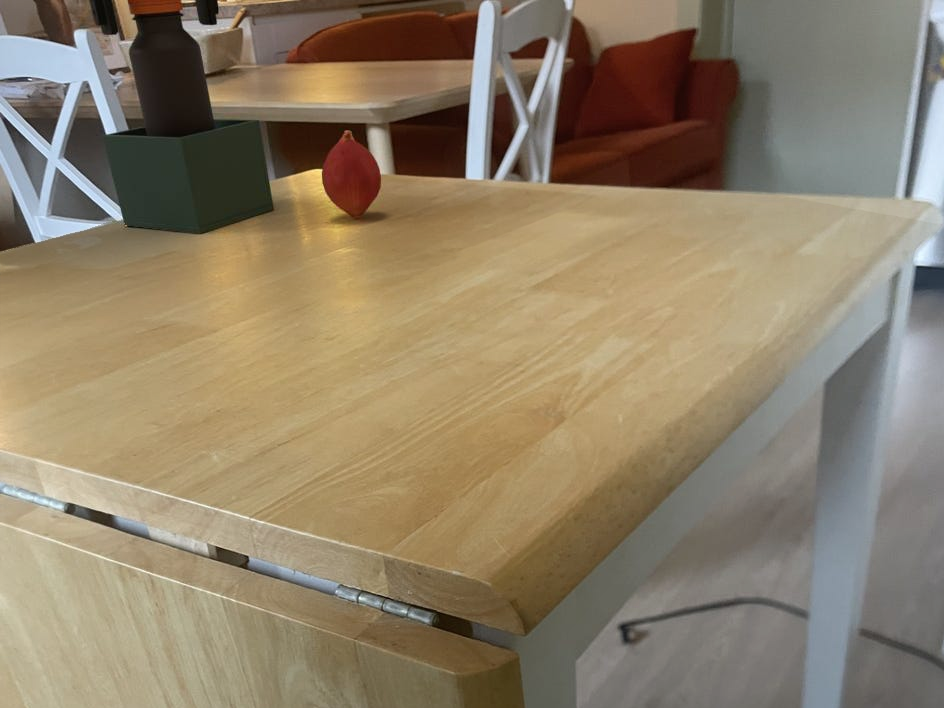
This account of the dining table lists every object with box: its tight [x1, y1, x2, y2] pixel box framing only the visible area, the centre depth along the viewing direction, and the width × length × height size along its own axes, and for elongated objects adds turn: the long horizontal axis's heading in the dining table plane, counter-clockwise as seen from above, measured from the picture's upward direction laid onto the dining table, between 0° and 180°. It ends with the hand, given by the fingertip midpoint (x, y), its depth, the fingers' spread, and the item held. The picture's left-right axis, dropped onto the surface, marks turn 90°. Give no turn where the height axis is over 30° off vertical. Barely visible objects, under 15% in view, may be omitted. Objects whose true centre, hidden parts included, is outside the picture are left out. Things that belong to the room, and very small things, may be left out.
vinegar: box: [126, 0, 215, 137], centre depth 100 cm, size 7×7×20 cm
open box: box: [102, 118, 275, 235], centre depth 104 cm, size 11×11×9 cm
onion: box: [321, 129, 382, 219], centre depth 99 cm, size 6×6×8 cm
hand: (160, 29), depth 96 cm, fingers open, 9 cm apart
